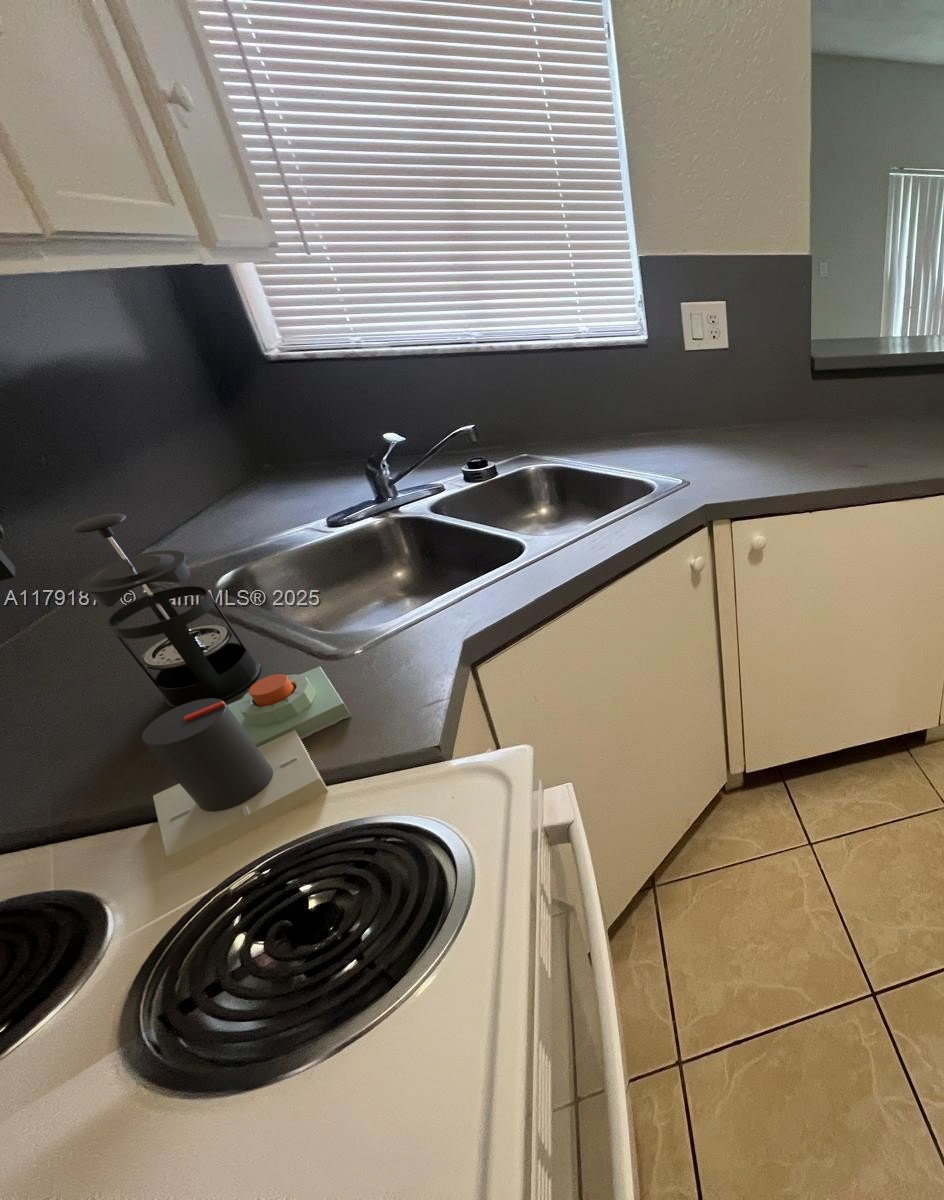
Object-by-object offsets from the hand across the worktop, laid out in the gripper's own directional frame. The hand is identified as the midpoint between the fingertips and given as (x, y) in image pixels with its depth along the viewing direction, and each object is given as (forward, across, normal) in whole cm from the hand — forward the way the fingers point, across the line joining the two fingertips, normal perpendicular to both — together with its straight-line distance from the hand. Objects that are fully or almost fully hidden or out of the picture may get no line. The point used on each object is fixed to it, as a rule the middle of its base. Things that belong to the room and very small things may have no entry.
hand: (3, 574), depth 58 cm
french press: (+23, -7, -8) cm, 25 cm away
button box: (+22, -12, +7) cm, 26 cm away
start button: (+19, -12, +7) cm, 23 cm away
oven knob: (+20, -6, +17) cm, 28 cm away
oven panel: (+22, -6, +18) cm, 29 cm away
